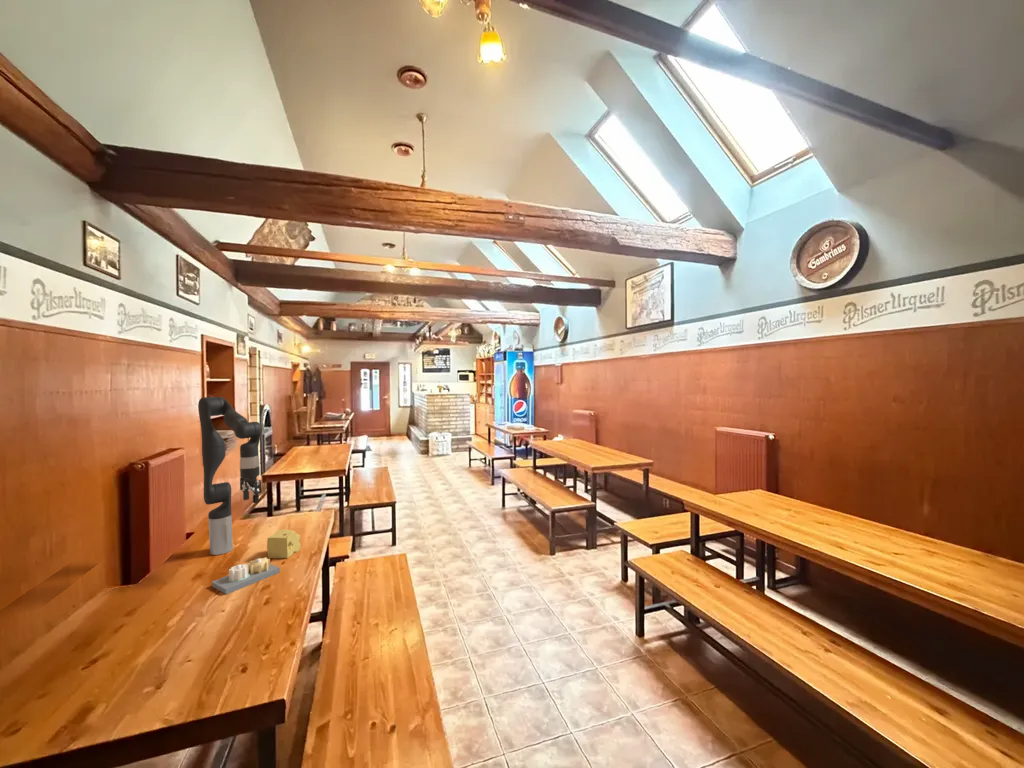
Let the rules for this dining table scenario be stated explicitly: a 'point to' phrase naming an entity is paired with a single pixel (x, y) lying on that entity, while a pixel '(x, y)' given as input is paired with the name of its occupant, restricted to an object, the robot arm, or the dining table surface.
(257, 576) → the gear board
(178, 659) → the dining table surface
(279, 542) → the cheese
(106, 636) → the dining table surface
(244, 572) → the nylon gear
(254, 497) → the robot arm
